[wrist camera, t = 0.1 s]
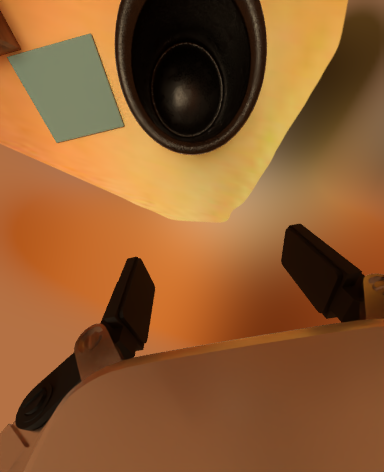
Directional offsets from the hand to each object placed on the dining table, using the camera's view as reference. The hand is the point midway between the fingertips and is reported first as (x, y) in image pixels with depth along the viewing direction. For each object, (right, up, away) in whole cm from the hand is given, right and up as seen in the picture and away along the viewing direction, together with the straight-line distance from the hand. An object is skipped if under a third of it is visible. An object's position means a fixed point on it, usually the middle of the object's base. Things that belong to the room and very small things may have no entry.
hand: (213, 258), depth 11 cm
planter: (-2, +27, +19) cm, 34 cm away
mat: (-23, +26, +18) cm, 39 cm away
